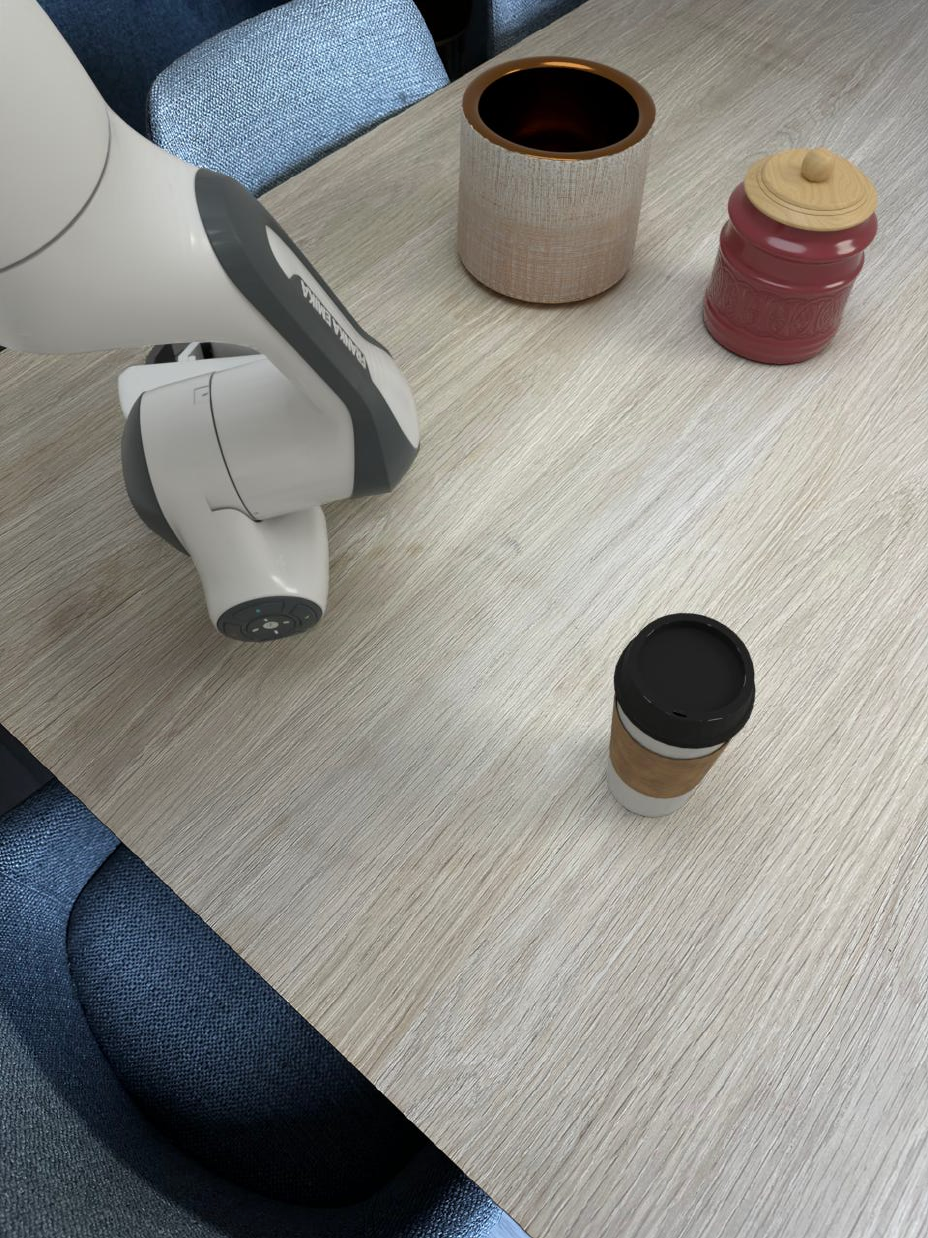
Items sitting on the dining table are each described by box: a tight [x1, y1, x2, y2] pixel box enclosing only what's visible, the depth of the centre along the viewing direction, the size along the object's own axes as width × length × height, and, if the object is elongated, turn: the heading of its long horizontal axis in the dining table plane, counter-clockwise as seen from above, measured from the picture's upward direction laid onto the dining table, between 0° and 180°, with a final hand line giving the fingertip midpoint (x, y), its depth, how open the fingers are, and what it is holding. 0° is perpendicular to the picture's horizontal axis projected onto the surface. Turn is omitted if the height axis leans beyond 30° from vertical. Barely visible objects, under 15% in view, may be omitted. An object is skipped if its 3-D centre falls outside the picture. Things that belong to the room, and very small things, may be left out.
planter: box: [456, 55, 657, 305], centre depth 99 cm, size 18×18×16 cm
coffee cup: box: [606, 612, 757, 818], centre depth 66 cm, size 8×8×15 cm
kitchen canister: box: [702, 146, 879, 365], centre depth 93 cm, size 13×13×18 cm
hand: (249, 331), depth 85 cm, fingers closed on beverage can, 6 cm apart
